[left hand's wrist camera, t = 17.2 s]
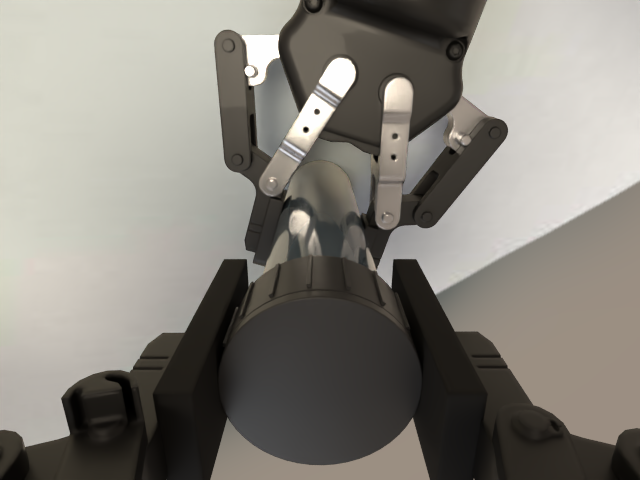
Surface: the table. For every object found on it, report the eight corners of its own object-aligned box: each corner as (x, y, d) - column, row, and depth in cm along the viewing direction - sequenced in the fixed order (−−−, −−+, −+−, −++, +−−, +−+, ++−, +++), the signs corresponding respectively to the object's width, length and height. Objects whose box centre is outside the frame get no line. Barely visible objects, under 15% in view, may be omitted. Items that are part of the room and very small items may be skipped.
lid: (422, 380, 13) (444, 443, 11) (266, 417, 14) (255, 485, 11) (384, 231, 11) (400, 269, 9) (207, 280, 12) (180, 327, 10)
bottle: (304, 231, 29) (281, 451, 12) (277, 175, 28) (208, 332, 11) (361, 207, 29) (423, 402, 11) (336, 149, 27) (365, 270, 10)
